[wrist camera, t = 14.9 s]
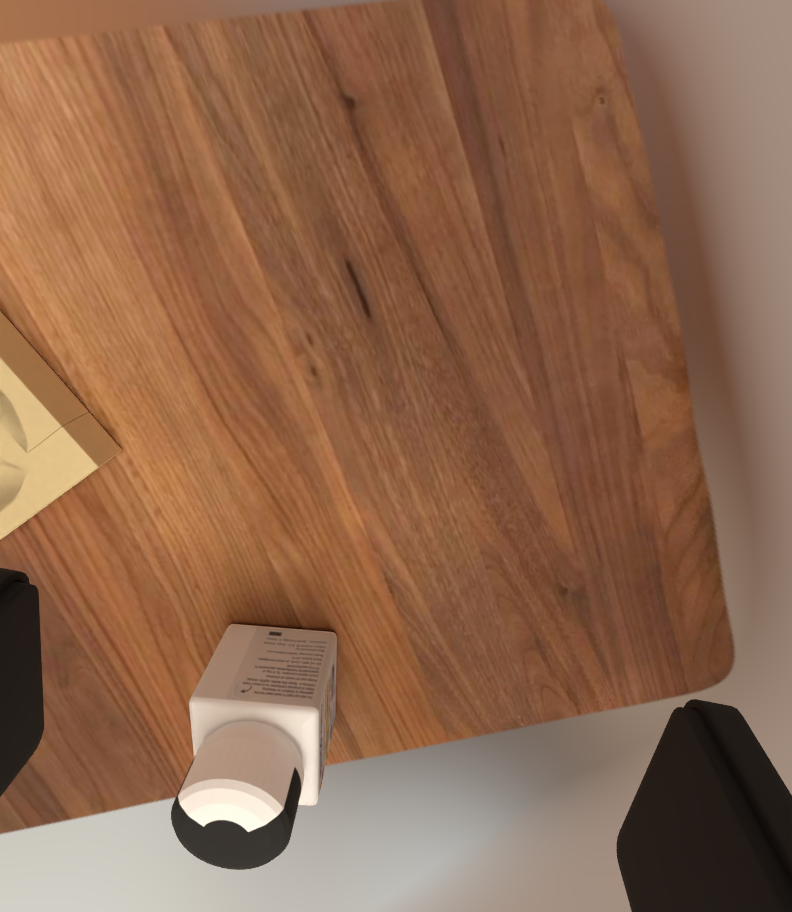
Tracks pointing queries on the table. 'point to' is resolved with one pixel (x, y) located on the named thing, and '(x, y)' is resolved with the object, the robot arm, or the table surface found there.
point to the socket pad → (40, 433)
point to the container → (256, 743)
